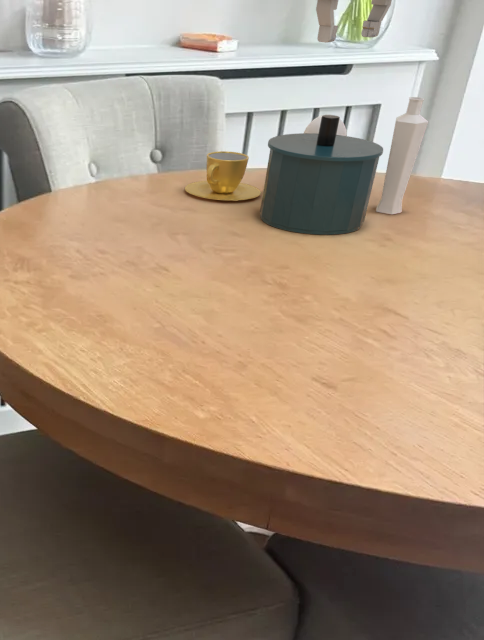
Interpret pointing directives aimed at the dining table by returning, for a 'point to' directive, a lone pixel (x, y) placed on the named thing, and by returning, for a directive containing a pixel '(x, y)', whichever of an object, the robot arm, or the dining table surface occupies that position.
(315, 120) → the light bulb
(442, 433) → the dining table surface
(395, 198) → the perfume bottle
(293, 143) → the tin lid
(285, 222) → the tin
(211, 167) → the cup
